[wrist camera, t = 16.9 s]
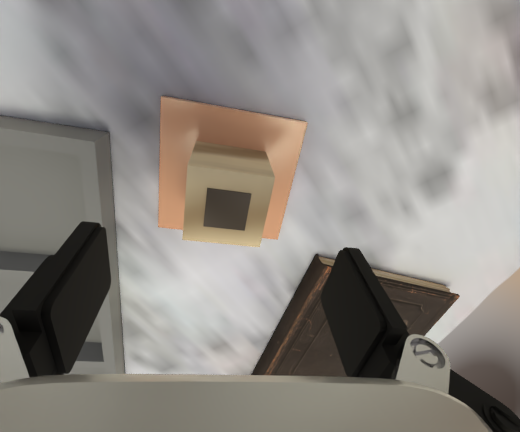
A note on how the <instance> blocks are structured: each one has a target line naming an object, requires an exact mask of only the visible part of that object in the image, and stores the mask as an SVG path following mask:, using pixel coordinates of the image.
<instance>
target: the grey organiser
mask: <svg viewBox="0 0 520 432" xmlns="http://www.w3.org/2000/svg"><path fill="white" fill-rule="evenodd" d="M82 221H86V222H96V223H100V225H101V227H105V228H106V234H107V243H108V253H109V262H110V272H111V286H110V289H109V291H108V293H107V296H106V298H105V300H104V302H103V304H102V306H101V308H100V310H99V313H98V315H97V317H96V319H95V321H94V323H93V325H92V327H91V330H90V332H89V334H88V336H87V338H86V340H85V342H84V344H83V347H82V349H81V351H80V353H79V355H78V357H77V359H76V361H75V364H74V366H73V368H72V370H71V371H70V373H68V374H64V375H69V374H125V363H124V348H123V333H122V318H121V302H120V287H119V272H118V257H117V242H116V227H115V211H114V196H113V181H112V166H111V151H110V136H109V132H106V131H99V130H93V129H86V128H80V127H73V126H67V125H60V124H54V123H47V122H41V121H34V120H28V119H21V118H15V117H8V116H2V115H0V313H1V312H2V311H3V310H4V309H5V307H6V306H7V305H8V304H9V302H10V301H11V300H12V299H13V298H14V296H15V295H16V294H17V293H18V292H19V290H20V289H21V288H22V287H23V285H24V284H25V283H26V282H27V281H28V279H29V278H30V277H31V276H32V275H33V273H34V272H35V271H36V270H37V268H38V267H39V266H40V265H41V264H42V262H43V261H44V260H45V259H46V258H47V257H48V256H50V255H55V254H56V252H57V251H58V250H59V249H60V247H61V246H62V245H63V244H64V242H65V241H66V240H67V239H68V237H69V236H70V235H71V234H72V232H73V231H74V230H75V228H76V227H77V226H78V225H79V223H80V222H82Z"/></svg>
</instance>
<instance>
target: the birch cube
mask: <svg viewBox="0 0 520 432" xmlns="http://www.w3.org/2000/svg"><path fill="white" fill-rule="evenodd" d="M274 181H275V175H274V173H273V170H272V167H271V165H270V162H269V159H268V156H267V154H266V152H265V151H258V150H252V149H245V148H239V147H233V146H226V145H220V144H213V143H207V142H201V141H196V143H195V146H194V149H193V151H192V154H191V157H190V160H189V162H188V165H187V179H186V194H185V209H184V224H183V239H182V240H190V241H201V242H211V243H221V244H232V245H242V246H252V247H260V243H261V239H262V234H263V230H264V225H265V221H266V217H267V212H268V208H269V203H270V199H271V194H272V190H273V186H274Z"/></svg>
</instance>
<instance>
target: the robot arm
mask: <svg viewBox="0 0 520 432" xmlns="http://www.w3.org/2000/svg"><path fill="white" fill-rule="evenodd" d="M110 286H111V272H110V262H109V253H108V243H107V234H106V228H105V227H101V225H100V223H96V222H86V221H82V222H80V223H79V225H78V226H77V227H76V228H75V230H74V231H73V232H72V234H71V235H70V236H69V237H68V239H67V240H66V241H65V242H64V244H63V245H62V246H61V247H60V249H59V250H58V251H57V252H56V254H55V255H50V256H48V257H47V258H46V259H45V260H44V261H43V262H42V264H41V265H40V266H39V267H38V268H37V270H36V271H35V272H34V273H33V275H32V276H31V277H30V278H29V279H28V281H27V282H26V283H25V284H24V285H23V287H22V288H21V289H20V290H19V292H18V293H17V294H16V295H15V296H14V298H13V299H12V300H11V301H10V302H9V304H8V305H7V306H6V307H5V309H4V310H3V311H2V312H1V313H0V432H520V419H519V418H518V417H517V416H516V415H515V414H514V413H513V412H512V411H511V410H510V409H509V408H507V407H506V406H505V405H503V404H502V403H501V402H499V401H498V400H496V399H495V398H493V397H492V396H490V395H489V394H487V393H486V392H484V391H483V390H481V389H480V388H478V387H477V386H475V385H474V384H472V383H471V382H469V381H468V380H466V379H465V378H463V377H461V376H460V375H458V374H457V373H455V372H454V371H452V370H451V369H450V361H449V358H448V356H447V354H446V353H445V352H444V351H443V349H442V348H441V347H440V346H439V345H438V344H437V343H435V342H434V341H432V340H431V339H429V338H427V337H425V336H422V335H418V334H412V335H409V333H408V331H407V329H408V328H407V326H406V324H405V323H404V321H403V320H402V318H401V316H400V315H399V313H398V311H397V310H396V308H395V307H394V305H393V303H392V302H391V300H390V298H389V297H388V295H387V293H386V292H385V290H384V289H383V287H382V285H381V284H380V282H379V280H378V279H377V277H376V275H375V274H374V272H373V271H372V269H371V267H370V266H369V264H368V262H367V261H366V259H365V257H364V256H363V254H362V253H361V251H360V250H359V249H357V248H347V247H345V248H344V249H343V250H340V251H339V253H338V255H337V257H336V260H335V262H334V264H333V267H332V269H331V272H330V274H329V276H328V279H327V281H326V283H325V286H324V288H323V291H322V293H321V304H322V307H323V310H324V312H325V315H326V318H327V321H328V324H329V327H330V330H331V333H332V336H333V338H334V341H335V344H336V347H337V350H338V353H339V356H340V359H341V362H342V364H343V367H344V370H345V373H346V375H347V376H348V377H327V376H272V375H195V374H69V375H64V374H68V373H70V371H71V370H72V368H73V366H74V364H75V361H76V359H77V357H78V355H79V353H80V351H81V349H82V347H83V344H84V342H85V340H86V338H87V336H88V334H89V332H90V330H91V327H92V325H93V323H94V321H95V319H96V317H97V315H98V313H99V310H100V308H101V306H102V304H103V302H104V300H105V298H106V296H107V293H108V291H109V289H110Z"/></svg>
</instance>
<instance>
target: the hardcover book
mask: <svg viewBox="0 0 520 432" xmlns="http://www.w3.org/2000/svg"><path fill="white" fill-rule="evenodd" d="M334 262H335V260H333V259H329V258H324V257H320V256H318V254H316V255H315V257H314V259H313V261H312V263H311V264H310V266H309V268H308V270H307V272H306V274H305V276H304V278H303V279H302V281H301V283H300V285H299V287H298V289H297V291H296V292H295V294H294V296H293V298H292V300H291V302H290V304H289V306H288V307H287V309H286V311H285V313H284V315H283V317H282V319H281V321H280V322H279V324H278V326H277V328H276V330H275V332H274V334H273V336H272V337H271V339H270V341H269V343H268V345H267V347H266V349H265V350H264V352H263V354H262V356H261V358H260V360H259V362H258V364H257V365H256V367H255V369H254V371H253V373H252V375H272V376H327V377H348V376H347V375H346V373H345V370H344V367H343V364H342V362H341V359H340V356H339V353H338V350H337V347H336V344H335V341H334V338H333V336H332V333H331V330H330V327H329V324H328V321H327V318H326V315H325V312H324V310H323V307H322V304H321V293H322V291H323V288H324V286H325V283H326V281H327V279H328V276H329V274H330V272H331V269H332V267H333V264H334ZM371 269H372V268H371ZM372 271H373V272H374V274H375V275H376V277H377V279H378V280H379V282H380V284H381V285H382V287H383V289H384V290H385V292H386V293H387V295H388V297H389V298H390V300H391V302H392V303H393V305H394V307H395V308H396V310H397V311H398V313H399V315H400V316H401V318H402V320H403V321H404V323H405V324H406V326H407V328H408V329H407V331H408V333H409V335H412V334H418V335H422V336H425V334H426V333H427V332H428V331H429V330H430V329H431V328H432V327H433V326H434V324H435V323H436V322H437V321H438V320H439V319H440V318H441V317H442V316H443V314H444V313H445V312H446V311H447V310H448V309H449V308H450V307H451V306H452V304H453V303H454V302H455V301H456V300H457V299H458V298H459V297H460V296H459V295H458V294H455V293H451V292H450V289H449V288H446V286H445V285H441V284H437V283H432V282H428V281H424V280H419V279H415V278H411V277H406V276H402V275H398V274H393V273H389V272H385V271H381V270H376V269H372Z"/></svg>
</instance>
